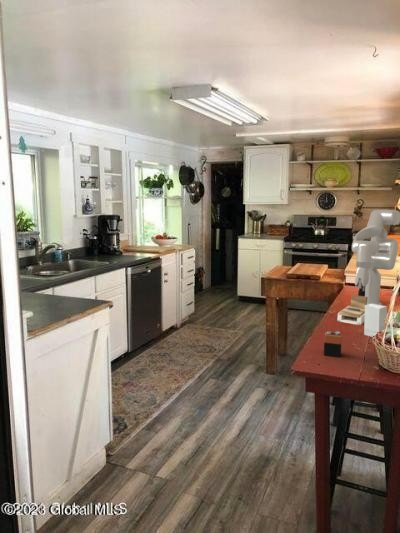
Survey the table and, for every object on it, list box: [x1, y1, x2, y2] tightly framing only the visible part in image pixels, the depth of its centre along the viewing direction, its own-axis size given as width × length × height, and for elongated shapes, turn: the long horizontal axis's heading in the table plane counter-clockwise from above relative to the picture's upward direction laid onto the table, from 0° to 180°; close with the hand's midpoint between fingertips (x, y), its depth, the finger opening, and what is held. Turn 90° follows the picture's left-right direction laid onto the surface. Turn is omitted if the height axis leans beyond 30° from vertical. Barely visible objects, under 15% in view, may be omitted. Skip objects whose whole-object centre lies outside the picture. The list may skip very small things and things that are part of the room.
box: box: [336, 305, 365, 326], centre depth 231 cm, size 18×12×4 cm, turn 144°
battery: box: [323, 330, 343, 358], centre depth 180 cm, size 4×7×10 cm, turn 71°
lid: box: [339, 294, 367, 318], centre depth 230 cm, size 17×10×8 cm, turn 144°
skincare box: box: [363, 304, 388, 338], centre depth 203 cm, size 8×6×15 cm
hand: (361, 297), depth 239 cm, fingers closed
